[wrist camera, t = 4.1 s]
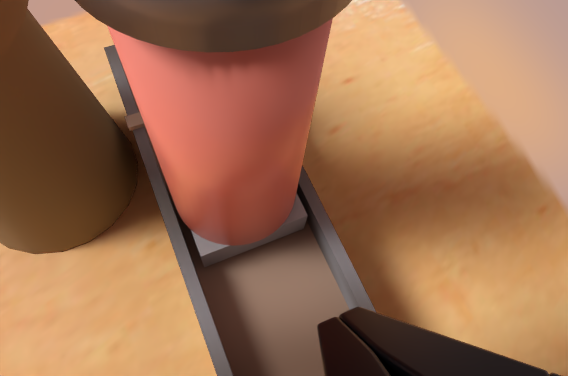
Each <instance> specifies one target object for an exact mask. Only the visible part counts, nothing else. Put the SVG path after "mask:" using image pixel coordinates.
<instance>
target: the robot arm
mask: <svg viewBox="0 0 568 376" xmlns="http://www.w3.org/2000/svg"><path fill="white" fill-rule="evenodd" d="M317 332H318V338H319V344H320V351H321V357H322V364H323V370H324V376H561V375H558V374H555V373H550V375H549V374H548V372H547V371H546V370H543V369H540V368H537V367H534V366H531V365H529V364H526V363H523V362H520V361H517V360H514V359H511V358H508V357H505V356H502V355H499V354H496V353H493V352H491V351H488V350H485V349H482V348H479V347H476V346H473V345H470V344H467V343H464V342H461V341H458V340H456V339H453V338H450V337H447V336H444V335H441V334H438V333H435V332H432V331H429V330H426V329H423V328H420V327H418V326H415V325H412V324H409V323H406V322H403V321H400V320H397V319H394V318H391V317H388V316H385V315H382V314H380V313H377V312H374V311H371V310H368V309H365V308H362V307H355V308H353V309H350V310H348V311H346V312H344V313H341V314H340V315H339V317H332V318H330V319H328V320H326V321H323V322H321V323H319V324H318V325H317Z"/></svg>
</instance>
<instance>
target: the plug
mask: <svg viewBox="0 0 568 376" xmlns="http://www.w3.org/2000/svg"><path fill="white" fill-rule="evenodd" d="M75 1H76V2H77V3H78V4H79V5H80V6H81V7H82V8H83V9H84V10H86V11H87V12H88V13H89V14H91V15H92V16H93V17H95V18H96V19H97V20H99V21H101V22H102V23H104V24H106V25H107V26H108V29H109V31H110V34H111V37H112V39H113V42H114V45H115V47H116V50H117V52H118V55H119V58H120V60H121V63H122V66H123V68H124V71H125V74H126V76H127V79H128V82H129V84H130V87H131V90H132V92H133V95H134V98H135V100H136V103H137V106H138V108H139V111H140V114H141V116H142V119H143V121H144V124H145V127H146V129H147V132H148V135H149V137H150V140H151V143H152V145H153V148H154V151H155V153H156V156H157V159H158V161H159V164H160V167H161V169H162V172H163V175H164V177H165V180H166V183H167V185H168V188H169V190H170V193H171V196H172V198H173V201H174V204H175V206H176V209H177V211H178V213H179V215H180V217H181V219H182V220H183V222H184V223H185V224H186V225H187V226H188V228H190V229H191V232H192V235H193V238H194V240H195V243H196V246H197V248H198V251H199V254H200V257H201V259H202V262H203V265H204V267H207V266H209V265H212V264H215V263H217V262H220V261H222V260H225V259H227V258H230V257H233V256H235V255H238V254H240V253H243V252H245V251H248V250H250V249H253V248H256V247H258V246H261V245H263V244H266V243H268V242H271V241H274V240H276V239H279V238H281V237H284V236H286V235H289V234H292V233H294V232H297V231H299V230H302V229H304V226H305V223H306V220H307V216H308V215H307V213H306V211H305V209H304V207H303V205H302V203H301V201H300V199H299V197H298V195H297V187H298V182H299V178H300V173H301V168H302V163H303V158H304V154H305V149H306V144H307V139H308V134H309V129H310V125H311V120H312V115H313V110H314V105H315V101H316V96H317V91H318V86H319V81H320V77H321V72H322V67H323V62H324V57H325V52H326V48H327V43H328V38H329V33H330V28H331V24H332V19H333V17H335V16H336V15H337V14H338V13H339V12H341V11H342V10H343V9H344V8H345V7H346V6H347V5H348V4H349V3H350V2H351V1H352V0H75Z"/></svg>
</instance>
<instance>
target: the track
mask: <svg viewBox="0 0 568 376" xmlns="http://www.w3.org/2000/svg"><path fill="white" fill-rule="evenodd" d="M104 49H105V52H106V55H107V58H108V61H109V64H110V67H111V69H112V72H113V75H114V78H115V81H116V84H117V87H118V90H119V93H120V96H121V98H122V101H123V104H124V107H125V110H126V113H127V116H125V120H126V123H127V126H128V128H129V131H131V130H133V133H134V136H135V139H136V142H137V145H138V148H139V151H140V153H141V156H142V159H143V162H144V165H145V168H146V171H147V174H148V177H149V180H150V182H151V185H152V188H153V191H154V194H155V197H156V200H157V203H158V206H159V208H160V211H161V214H162V217H163V220H164V223H165V226H166V229H167V232H168V235H169V237H170V240H171V243H172V246H173V249H174V252H175V255H176V258H177V261H178V263H179V266H180V269H181V272H182V275H183V278H184V281H185V284H186V287H187V290H188V292H189V295H190V298H191V301H192V304H193V307H194V310H195V313H196V316H197V319H198V321H199V324H200V327H201V330H202V333H203V336H204V339H205V342H206V345H207V347H208V350H209V353H210V356H211V359H212V362H213V365H214V368H215V371H216V374H217V376H324V370H323V364H322V357H321V351H320V344H319V338H318V332H317V325H318V324H319V323H321V322H323V321H326V320H328V319H330V318H332V317H339V315H340V314H341V313H344V312H346V311H348V310H350V309H353V308H355V307H362V308H365V309H368V310H371V311H374V312H376V311H375V309H374V307H373V305H372V303H371V301H370V299H369V297H368V295H367V293H366V291H365V289H364V287H363V285H362V283H361V281H360V279H359V277H358V275H357V273H356V271H355V269H354V267H353V265H352V263H351V261H350V259H349V257H348V255H347V253H346V251H345V249H344V247H343V245H342V243H341V241H340V239H339V237H338V235H337V233H336V231H335V229H334V227H333V225H332V223H331V221H330V219H329V217H328V215H327V213H326V211H325V209H324V207H323V205H322V203H321V201H320V199H319V197H318V195H317V193H316V191H315V189H314V187H313V185H312V183H311V181H310V179H309V177H308V175H307V173H306V171H305V169H304V167H303V165H302V168H301V173H300V178H299V182H298V187H297V195H298V197H299V199H300V201H301V203H302V205H303V207H304V209H305V211H306V213H307V215H308V216H307V220H306V223H305V226H304V229H302V230H299V231H297V232H294V233H292V234H289V235H286V236H284V237H281V238H279V239H276V240H274V241H271V242H268V243H266V244H263V245H261V246H258V247H256V248H253V249H250V250H248V251H245V252H243V253H240V254H238V255H235V256H233V257H230V258H227V259H225V260H222V261H220V262H217V263H215V264H212V265H209V266H207V267H204V265H203V262H202V259H201V257H200V254H199V251H198V248H197V246H196V243H195V240H194V238H193V235H192V232H191V229H190V228H188V226H187V225H186V224H185V223H184V222H183V220H182V219H181V217H180V215H179V213H178V211H177V209H176V206H175V204H174V201H173V198H172V196H171V193H170V190H169V188H168V185H167V183H166V180H165V177H164V175H163V172H162V169H161V167H160V164H159V161H158V159H157V156H156V153H155V151H154V148H153V145H152V143H151V140H150V137H149V135H148V132H147V129H146V127H145V124H144V121H143V119H142V116H141V114H140V111H139V108H138V106H137V103H136V100H135V98H134V95H133V92H132V90H131V87H130V84H129V82H128V79H127V76H126V74H125V71H124V68H123V66H122V63H121V60H120V58H119V55H118V52H117V50H116V47H115V45H112V46H109V47H105V48H104Z"/></svg>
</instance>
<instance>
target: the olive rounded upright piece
mask: <svg viewBox="0 0 568 376" xmlns="http://www.w3.org/2000/svg"><path fill="white" fill-rule="evenodd" d="M27 6H28V0H0V243H2V244H3V245H5V246H6V247H8V248H10V249H15V250H19V251H24V252H28V253H33V254H40V253H52V252H63V251H66V250H68V249H71V248H74V247H76V246H79V245H82V244H85V243H87V242H90V241H91V240H92V239H94V238H95V237H97V236H98V235H99V234H101V233H102V232H104V231H105V230H107V229H108V228H109V227H111V226H112V225H113V224H114V222H115V221H116V220H117V219H118V217H119V216H120V215H121V214H122V213H123V211H124V210H125V209H126V208H127V206H128V205H129V202H130V200H131V197H132V194H133V192H134V189H135V187H136V184H137V159H136V157H135V154H134V151H133V148H132V145H131V143H130V142H129V140H128V139H127V138H126V136H125V135H124V134H123V132H122V131H121V130H120V128H119V127H118V126H117V125H116V123H115V122H114V121H113V119H112V118H111V117H110V115H109V114H108V113H107V112H106V110H105V109H104V108H103V106H102V105H101V104H100V102H99V101H98V100H97V99H96V97H95V96H94V95H93V93H92V92H91V91H90V89H89V88H88V87H87V86H86V84H85V83H84V82H83V80H82V79H81V78H80V76H79V75H78V74H77V73H76V71H75V70H74V69H73V67H72V66H71V65H70V63H69V62H68V61H67V59H66V58H65V57H64V56H63V54H62V53H61V52H60V50H59V49H58V48H57V46H56V45H55V44H54V43H53V41H52V40H51V39H50V37H49V36H48V35H47V33H46V32H45V31H44V30H43V28H42V27H41V26H40V24H39V23H38V22H37V20H36V19H35V18H34V17H33V15H32V14H31V13H30V11H29V10H28V9H27Z"/></svg>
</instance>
